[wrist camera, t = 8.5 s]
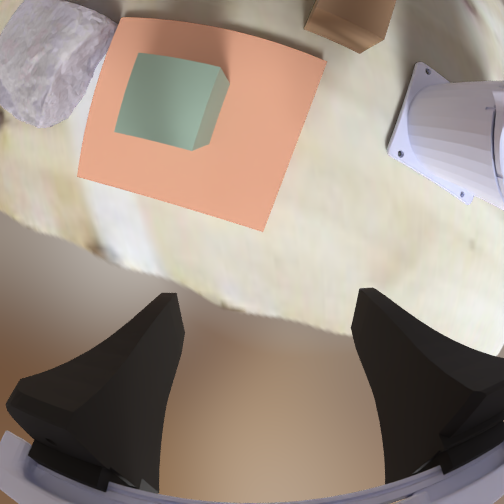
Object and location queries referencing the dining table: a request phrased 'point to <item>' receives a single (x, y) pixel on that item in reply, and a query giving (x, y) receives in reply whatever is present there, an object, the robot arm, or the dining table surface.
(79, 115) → the dining table surface
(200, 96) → the sage block
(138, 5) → the dining table surface
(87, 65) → the stone block
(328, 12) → the walnut cube
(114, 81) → the terracotta tile
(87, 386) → the robot arm
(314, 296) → the dining table surface
